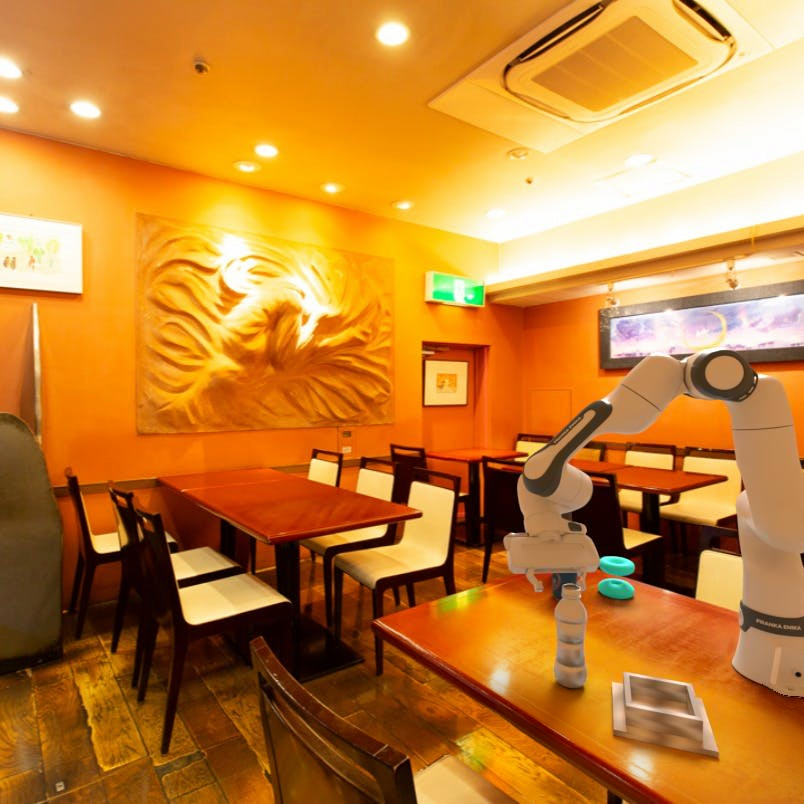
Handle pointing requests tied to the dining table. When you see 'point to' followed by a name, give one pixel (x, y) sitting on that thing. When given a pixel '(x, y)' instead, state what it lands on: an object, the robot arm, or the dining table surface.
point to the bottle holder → (661, 714)
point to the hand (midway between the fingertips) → (560, 590)
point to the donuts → (616, 586)
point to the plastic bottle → (570, 638)
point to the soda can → (562, 582)
